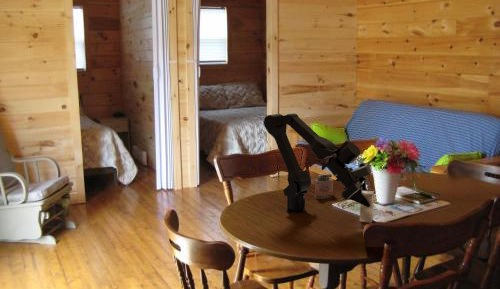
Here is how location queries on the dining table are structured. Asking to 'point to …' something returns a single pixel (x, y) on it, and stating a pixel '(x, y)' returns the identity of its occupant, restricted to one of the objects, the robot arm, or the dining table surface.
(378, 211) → the plinth
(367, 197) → the block
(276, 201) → the dining table surface
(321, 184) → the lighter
